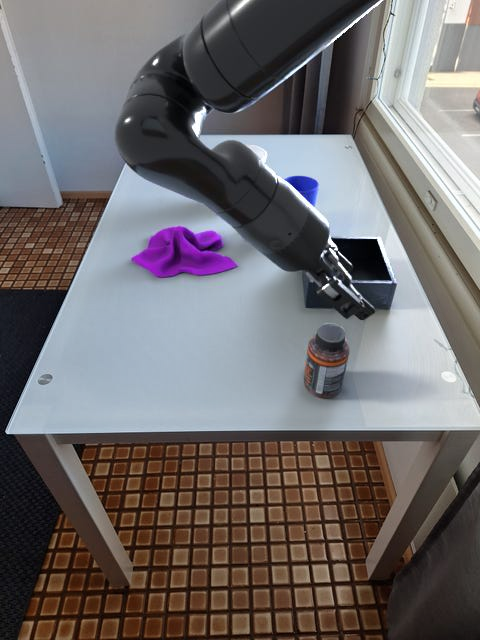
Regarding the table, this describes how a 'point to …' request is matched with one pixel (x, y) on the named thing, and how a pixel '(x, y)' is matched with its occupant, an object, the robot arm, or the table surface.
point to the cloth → (183, 253)
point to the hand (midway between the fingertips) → (357, 292)
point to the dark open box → (360, 272)
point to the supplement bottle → (326, 361)
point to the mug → (305, 187)
